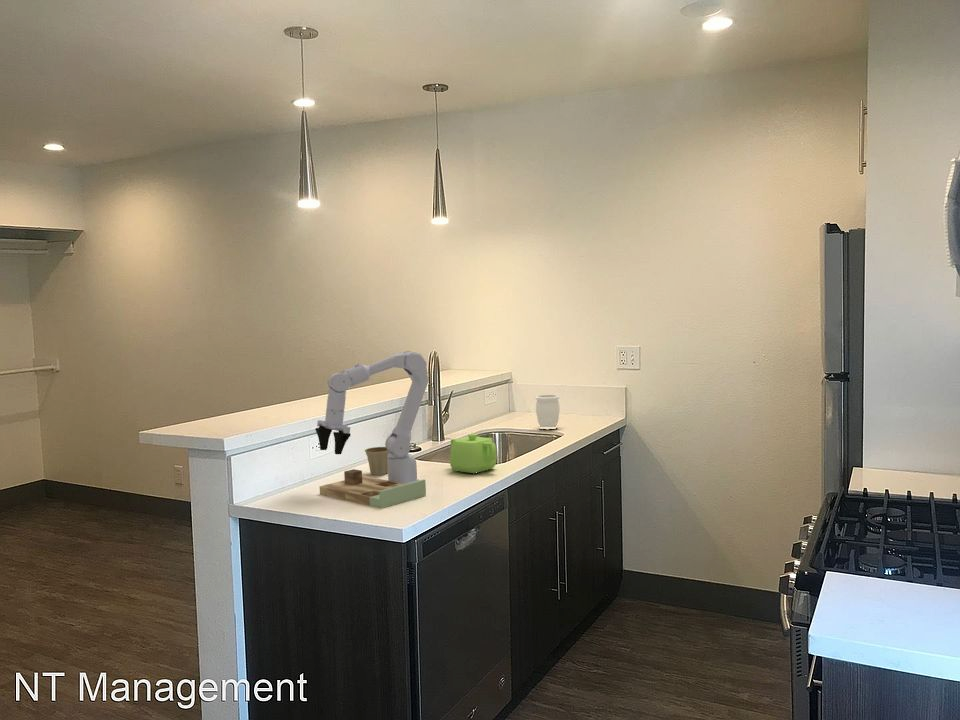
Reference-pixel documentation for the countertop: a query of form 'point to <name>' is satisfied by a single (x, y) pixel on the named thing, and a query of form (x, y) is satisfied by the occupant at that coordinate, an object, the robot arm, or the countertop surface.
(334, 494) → the box
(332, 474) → the countertop surface
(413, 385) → the robot arm
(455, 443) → the teapot
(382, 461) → the flower pot
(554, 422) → the jar
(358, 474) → the walnut block
